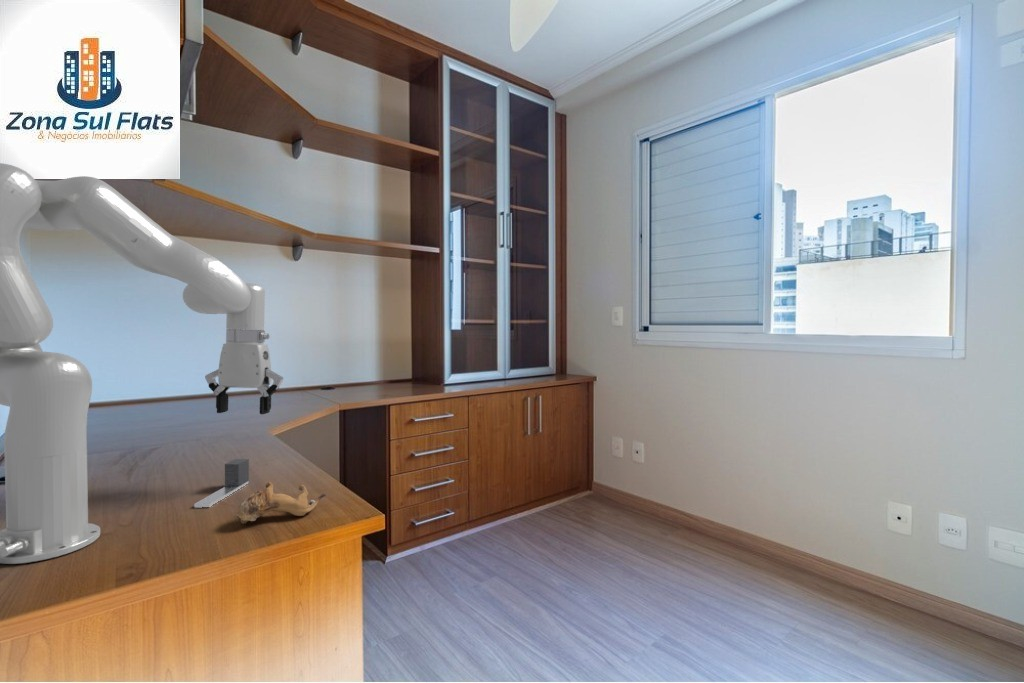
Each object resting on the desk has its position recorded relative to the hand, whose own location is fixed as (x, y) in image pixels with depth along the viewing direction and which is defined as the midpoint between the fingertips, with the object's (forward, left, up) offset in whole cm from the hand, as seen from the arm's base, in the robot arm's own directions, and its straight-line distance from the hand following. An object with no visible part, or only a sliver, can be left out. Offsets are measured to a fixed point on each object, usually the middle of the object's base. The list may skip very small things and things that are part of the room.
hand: (243, 412), depth 108 cm
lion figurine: (-14, -16, -14) cm, 25 cm away
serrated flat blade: (-8, 0, -16) cm, 18 cm away
